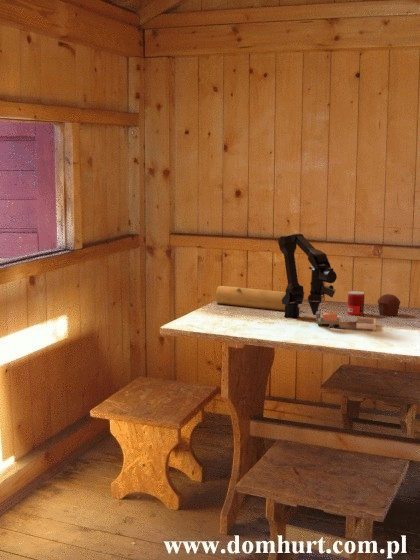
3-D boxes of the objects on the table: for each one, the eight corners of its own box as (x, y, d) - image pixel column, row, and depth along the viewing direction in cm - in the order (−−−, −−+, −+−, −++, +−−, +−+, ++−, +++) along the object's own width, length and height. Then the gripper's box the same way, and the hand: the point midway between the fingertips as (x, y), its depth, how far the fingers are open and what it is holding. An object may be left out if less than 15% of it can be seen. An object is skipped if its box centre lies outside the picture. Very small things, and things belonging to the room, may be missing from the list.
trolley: (315, 326, 368) (315, 314, 367) (318, 321, 378) (318, 309, 377) (338, 327, 365) (338, 314, 364) (339, 322, 376) (339, 310, 375)
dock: (328, 330, 365) (328, 321, 364) (330, 324, 379) (330, 315, 378) (375, 333, 361) (375, 324, 360) (375, 327, 374) (375, 318, 374)
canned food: (363, 316, 394) (364, 294, 392) (346, 315, 395) (347, 293, 394) (363, 313, 401) (364, 291, 400) (347, 312, 403) (348, 290, 401)
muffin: (403, 316, 394) (404, 296, 393) (382, 317, 392) (383, 297, 391) (394, 312, 406) (395, 292, 404) (373, 312, 404) (374, 292, 402)
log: (291, 309, 409) (292, 290, 407) (284, 312, 400) (285, 292, 399) (222, 301, 425) (223, 283, 423) (215, 304, 417) (215, 285, 415)
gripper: (333, 284, 359) (331, 318, 361) (336, 278, 377) (334, 310, 379) (308, 282, 361) (306, 316, 364) (312, 276, 379) (310, 309, 382)
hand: (315, 313), depth 372 cm, fingers open, 9 cm apart
